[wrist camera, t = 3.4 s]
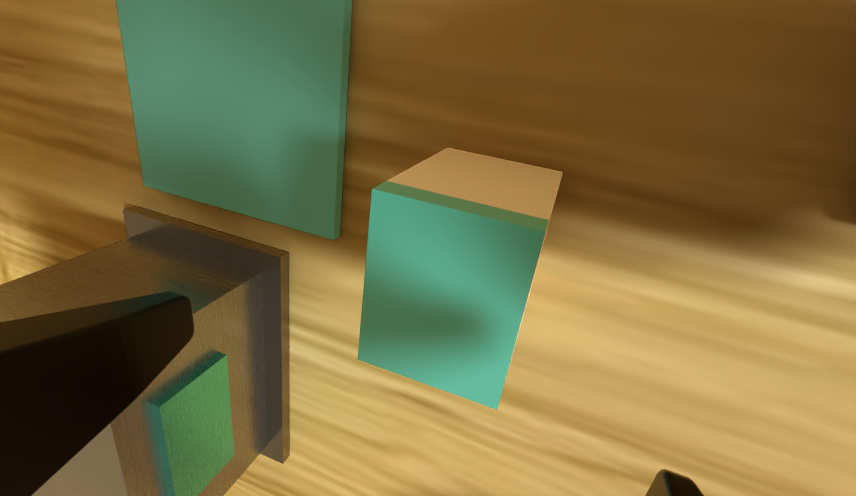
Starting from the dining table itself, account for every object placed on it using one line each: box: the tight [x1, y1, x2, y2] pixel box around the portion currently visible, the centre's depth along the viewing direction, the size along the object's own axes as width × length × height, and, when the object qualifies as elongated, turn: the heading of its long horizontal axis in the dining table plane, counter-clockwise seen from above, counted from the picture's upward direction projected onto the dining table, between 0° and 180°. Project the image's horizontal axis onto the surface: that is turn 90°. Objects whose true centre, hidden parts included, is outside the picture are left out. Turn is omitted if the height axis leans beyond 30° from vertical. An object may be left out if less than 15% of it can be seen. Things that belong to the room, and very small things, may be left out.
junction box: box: [0, 206, 289, 496], centre depth 20 cm, size 9×13×8 cm
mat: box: [116, 0, 352, 240], centre depth 17 cm, size 10×12×1 cm
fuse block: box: [358, 148, 563, 409], centre depth 13 cm, size 4×5×6 cm
